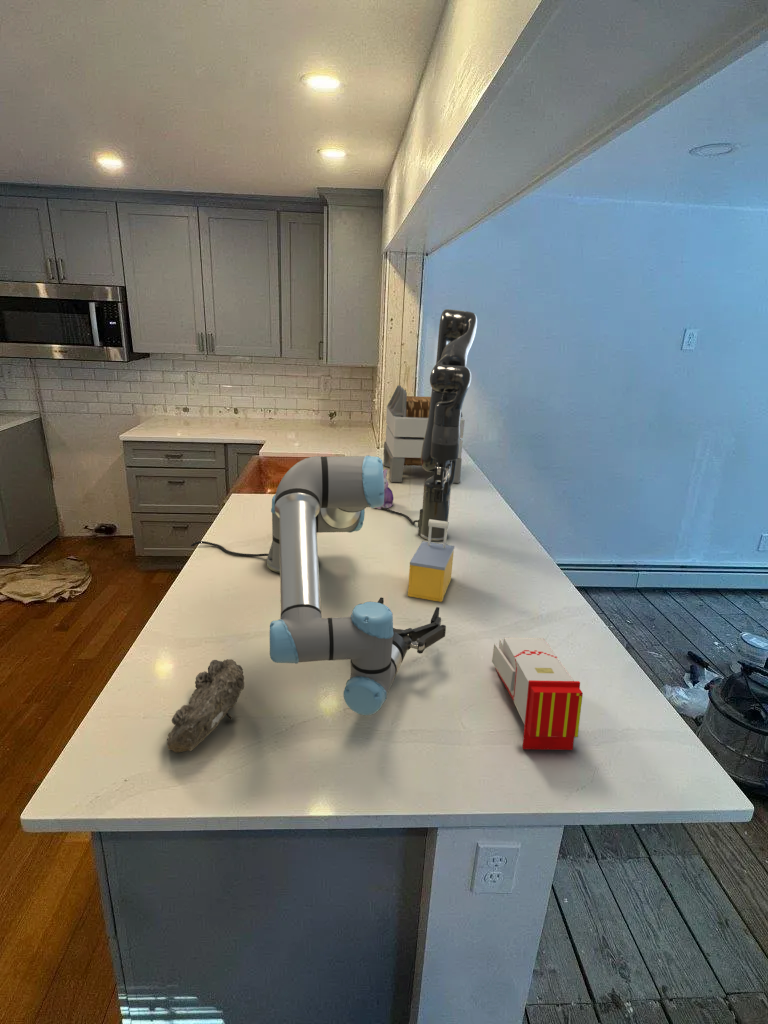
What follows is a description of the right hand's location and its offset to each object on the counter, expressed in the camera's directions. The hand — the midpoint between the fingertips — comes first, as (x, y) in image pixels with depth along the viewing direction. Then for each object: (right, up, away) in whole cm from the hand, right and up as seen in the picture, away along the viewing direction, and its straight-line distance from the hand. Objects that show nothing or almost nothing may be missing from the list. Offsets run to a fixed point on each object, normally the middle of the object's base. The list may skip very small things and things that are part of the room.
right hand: (440, 497), depth 159 cm
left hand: (-10, -27, -24) cm, 37 cm away
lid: (-2, -17, +1) cm, 17 cm away
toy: (+13, -43, -43) cm, 62 cm away
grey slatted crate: (+1, +15, +116) cm, 117 cm away
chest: (-3, -26, +3) cm, 26 cm away
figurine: (-17, -2, +68) cm, 70 cm away
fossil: (-49, -43, -51) cm, 83 cm away
